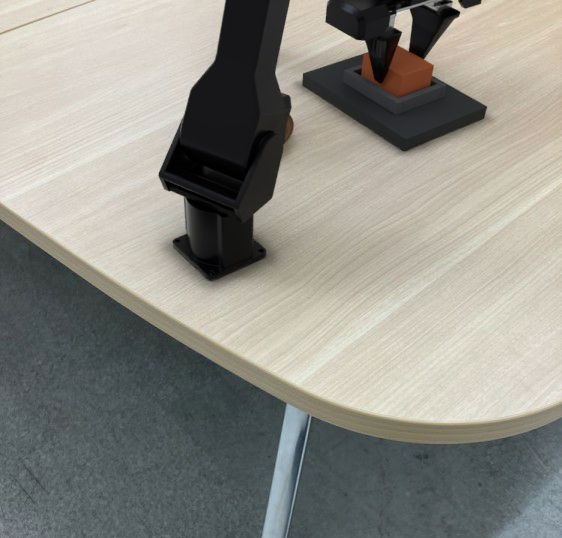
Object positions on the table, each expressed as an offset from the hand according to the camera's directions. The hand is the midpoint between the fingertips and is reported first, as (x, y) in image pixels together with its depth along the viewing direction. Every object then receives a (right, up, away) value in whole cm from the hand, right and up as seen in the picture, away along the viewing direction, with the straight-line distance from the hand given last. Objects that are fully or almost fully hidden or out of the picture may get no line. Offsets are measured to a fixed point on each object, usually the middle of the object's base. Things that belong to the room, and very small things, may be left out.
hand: (395, 75), depth 91 cm
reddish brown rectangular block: (0, -1, +1) cm, 1 cm away
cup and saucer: (-18, -9, -5) cm, 21 cm away
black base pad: (0, -2, +2) cm, 3 cm away
